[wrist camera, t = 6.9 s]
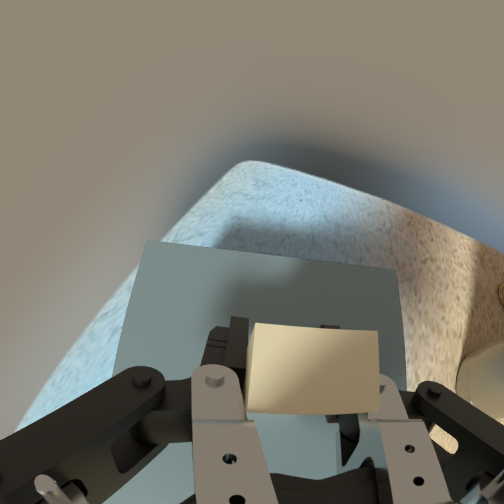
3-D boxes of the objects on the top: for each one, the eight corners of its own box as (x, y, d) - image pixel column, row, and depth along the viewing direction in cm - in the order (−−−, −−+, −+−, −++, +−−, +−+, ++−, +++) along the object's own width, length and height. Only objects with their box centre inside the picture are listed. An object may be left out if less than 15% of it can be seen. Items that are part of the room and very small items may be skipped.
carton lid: (351, 312, 23) (467, 185, 10) (345, 490, 15) (498, 543, 2) (168, 292, 23) (112, 128, 10) (139, 476, 15) (5, 544, 1)
